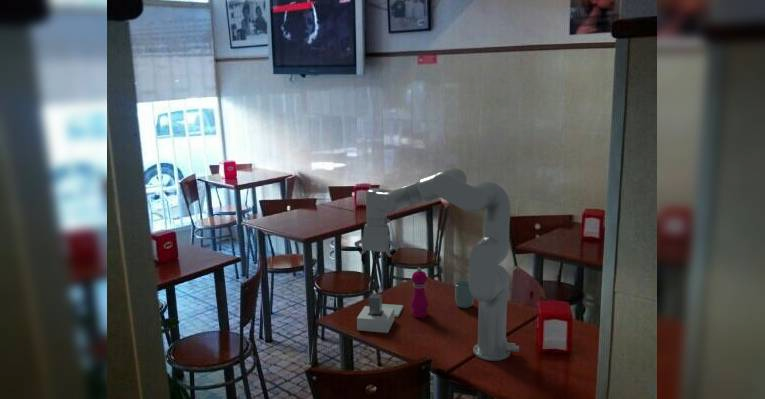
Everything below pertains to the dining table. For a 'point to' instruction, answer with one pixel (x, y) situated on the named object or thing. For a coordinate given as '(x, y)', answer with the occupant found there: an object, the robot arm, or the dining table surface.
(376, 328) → the socket block
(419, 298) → the pepper mill
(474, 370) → the dining table surface
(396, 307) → the white square plate
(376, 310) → the steel pin
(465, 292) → the cup
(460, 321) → the dining table surface
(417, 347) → the dining table surface
